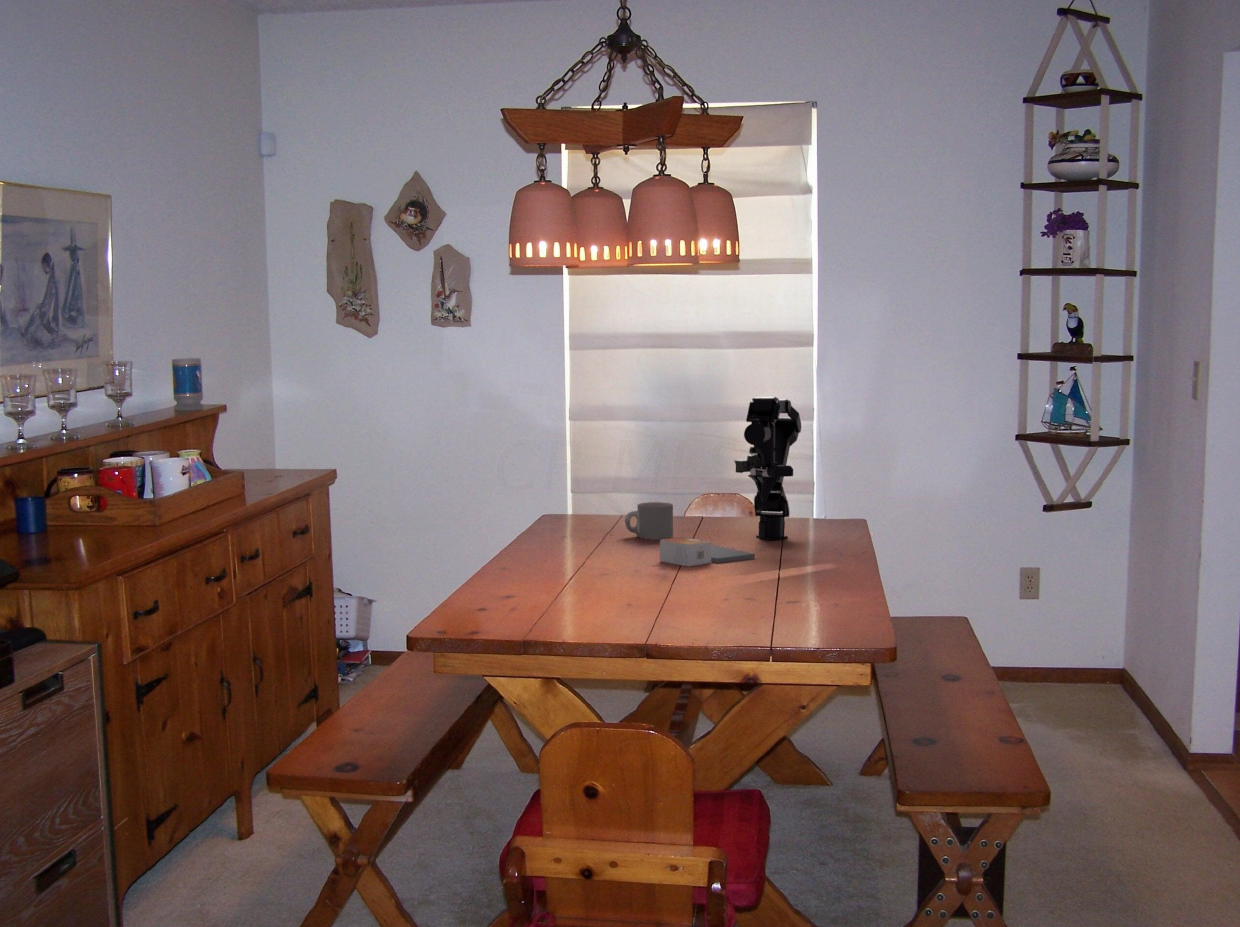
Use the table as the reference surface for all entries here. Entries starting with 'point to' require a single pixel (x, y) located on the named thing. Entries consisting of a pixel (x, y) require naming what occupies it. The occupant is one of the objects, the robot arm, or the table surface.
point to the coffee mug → (652, 520)
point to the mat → (728, 554)
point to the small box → (685, 551)
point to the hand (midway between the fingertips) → (763, 501)
